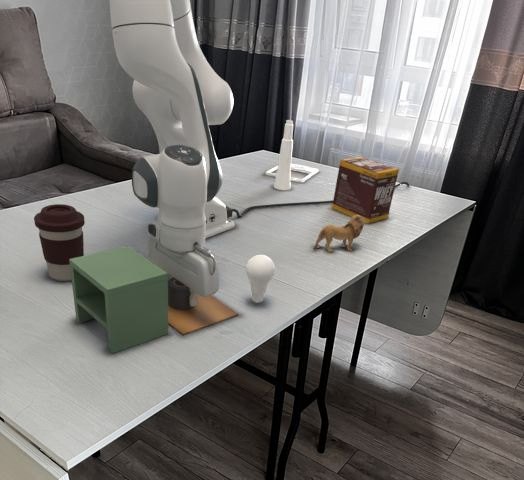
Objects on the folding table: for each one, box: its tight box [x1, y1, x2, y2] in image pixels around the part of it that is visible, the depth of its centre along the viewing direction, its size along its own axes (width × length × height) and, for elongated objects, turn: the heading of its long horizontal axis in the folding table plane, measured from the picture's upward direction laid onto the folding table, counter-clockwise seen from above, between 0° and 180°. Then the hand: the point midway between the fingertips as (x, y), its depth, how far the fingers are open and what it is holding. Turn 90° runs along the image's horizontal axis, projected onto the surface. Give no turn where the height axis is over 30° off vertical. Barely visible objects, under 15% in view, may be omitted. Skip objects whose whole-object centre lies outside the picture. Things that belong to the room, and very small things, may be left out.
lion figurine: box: [312, 215, 365, 253], centre depth 145 cm, size 15×5×9 cm, turn 116°
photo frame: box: [265, 162, 320, 184], centre depth 204 cm, size 15×1×18 cm
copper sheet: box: [168, 295, 239, 336], centre depth 114 cm, size 14×20×1 cm
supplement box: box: [331, 156, 400, 225], centre depth 169 cm, size 10×15×16 cm
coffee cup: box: [33, 203, 85, 282], centre depth 117 cm, size 10×10×15 cm
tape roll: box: [168, 277, 194, 310], centre depth 113 cm, size 6×6×5 cm
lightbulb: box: [245, 254, 276, 304], centre depth 115 cm, size 6×6×11 cm
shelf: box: [69, 245, 169, 354], centre depth 101 cm, size 12×14×13 cm
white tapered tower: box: [273, 119, 294, 191], centre depth 182 cm, size 6×6×22 cm
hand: (181, 297), depth 113 cm, fingers closed on tape roll, 6 cm apart
